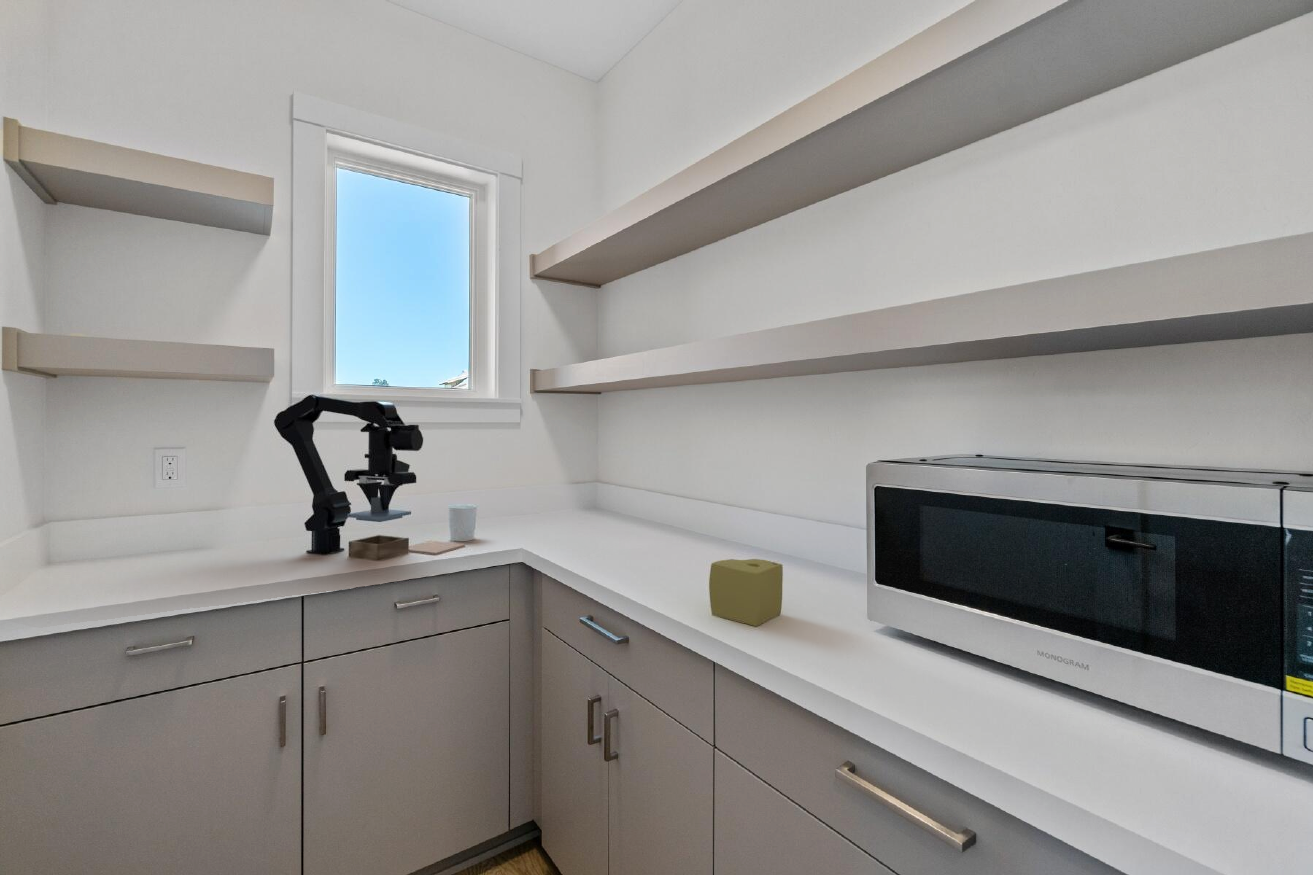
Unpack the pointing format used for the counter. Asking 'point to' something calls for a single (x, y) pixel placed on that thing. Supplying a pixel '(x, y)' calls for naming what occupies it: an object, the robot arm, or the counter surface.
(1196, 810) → the counter surface
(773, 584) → the cheese
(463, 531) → the white cup
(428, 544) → the mat
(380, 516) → the lid
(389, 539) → the box
